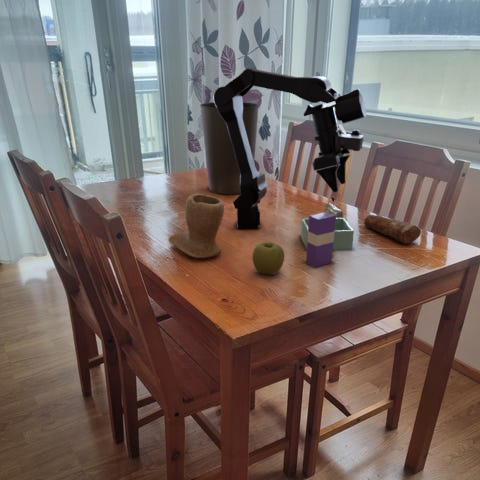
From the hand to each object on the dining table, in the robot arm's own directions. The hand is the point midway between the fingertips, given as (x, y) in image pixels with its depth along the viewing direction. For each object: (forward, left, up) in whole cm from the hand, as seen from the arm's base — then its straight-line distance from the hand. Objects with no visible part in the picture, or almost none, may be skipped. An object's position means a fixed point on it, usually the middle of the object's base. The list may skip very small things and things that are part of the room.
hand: (339, 187), depth 129 cm
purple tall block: (-8, -18, -14) cm, 24 cm away
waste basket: (-29, +56, -15) cm, 65 cm away
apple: (-22, -23, -15) cm, 35 cm away
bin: (-4, -4, -14) cm, 15 cm away
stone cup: (-39, -8, -15) cm, 42 cm away
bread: (+15, +1, -15) cm, 21 cm away
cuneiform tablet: (+2, +12, -15) cm, 19 cm away
